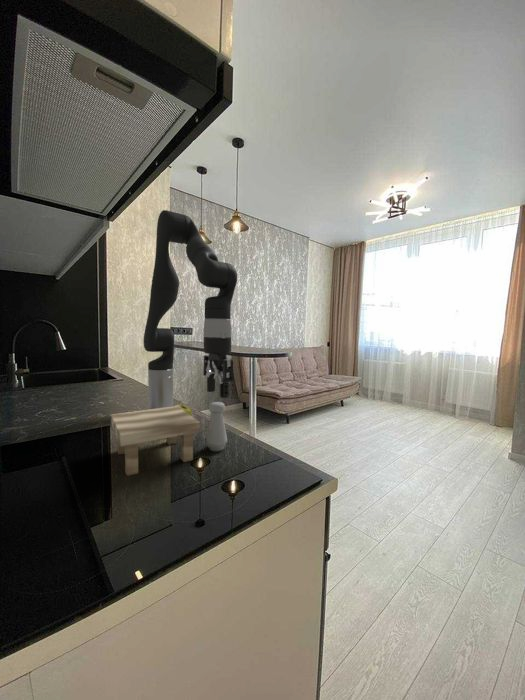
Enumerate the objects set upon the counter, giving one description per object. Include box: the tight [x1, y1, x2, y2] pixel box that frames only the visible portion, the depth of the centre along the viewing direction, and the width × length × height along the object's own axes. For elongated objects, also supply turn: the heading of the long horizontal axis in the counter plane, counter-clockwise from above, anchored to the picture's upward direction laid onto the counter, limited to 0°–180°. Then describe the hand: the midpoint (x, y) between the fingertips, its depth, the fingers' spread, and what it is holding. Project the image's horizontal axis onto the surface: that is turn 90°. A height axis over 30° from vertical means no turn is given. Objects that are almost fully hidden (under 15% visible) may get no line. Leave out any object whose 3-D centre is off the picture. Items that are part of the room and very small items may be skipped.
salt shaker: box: [206, 401, 228, 452], centre depth 81 cm, size 6×6×13 cm
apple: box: [173, 400, 193, 417], centre depth 96 cm, size 8×8×10 cm
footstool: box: [110, 405, 201, 476], centre depth 76 cm, size 18×18×10 cm
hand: (217, 394), depth 81 cm, fingers open, 8 cm apart
